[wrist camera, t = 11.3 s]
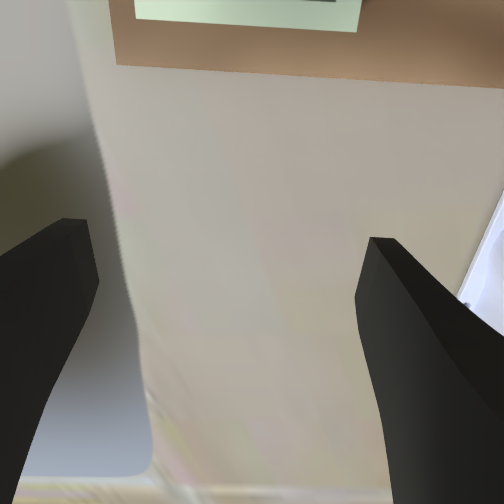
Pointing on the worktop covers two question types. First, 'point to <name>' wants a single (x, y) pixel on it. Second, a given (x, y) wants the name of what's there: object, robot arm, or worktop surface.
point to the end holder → (257, 13)
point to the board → (333, 44)
